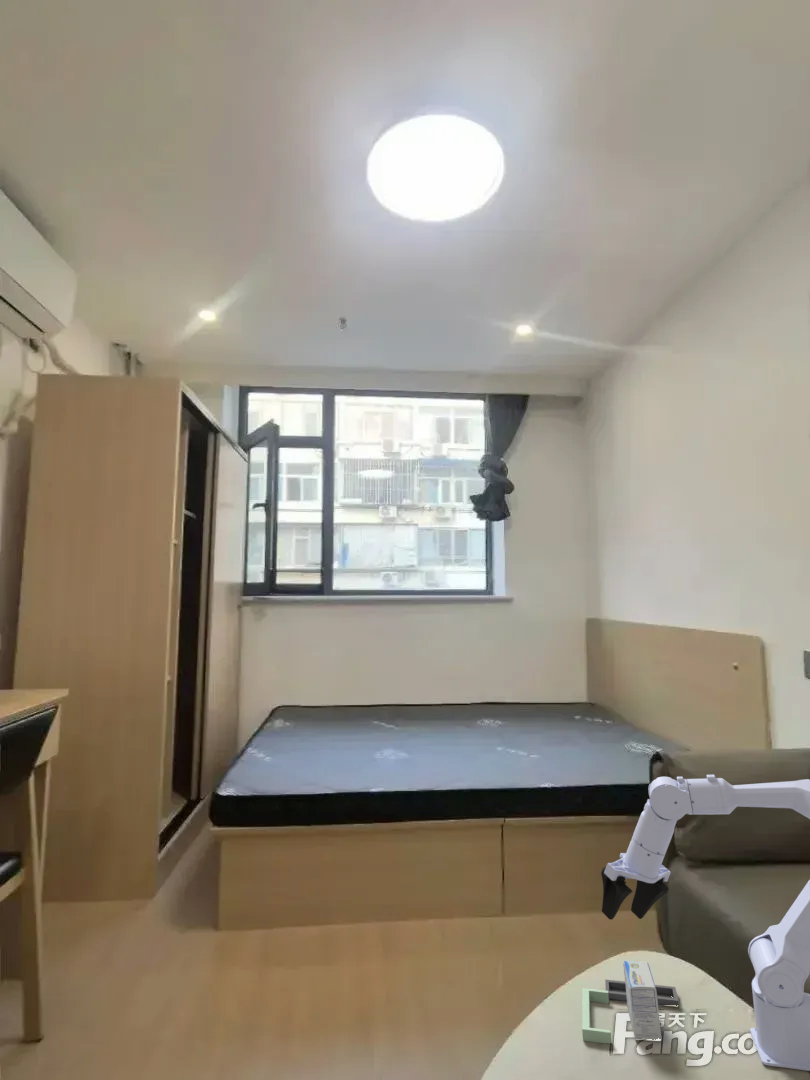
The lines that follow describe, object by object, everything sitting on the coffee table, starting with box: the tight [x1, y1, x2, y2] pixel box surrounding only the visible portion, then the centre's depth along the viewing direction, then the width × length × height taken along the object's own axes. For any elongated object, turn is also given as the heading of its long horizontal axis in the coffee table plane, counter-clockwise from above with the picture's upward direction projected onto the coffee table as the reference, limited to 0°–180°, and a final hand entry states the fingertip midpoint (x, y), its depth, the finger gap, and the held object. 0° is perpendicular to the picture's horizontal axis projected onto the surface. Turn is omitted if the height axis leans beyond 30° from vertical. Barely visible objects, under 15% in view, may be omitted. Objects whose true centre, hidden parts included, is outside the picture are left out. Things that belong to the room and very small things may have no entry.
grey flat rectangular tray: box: [655, 984, 680, 1006], centre depth 114 cm, size 5×4×1 cm
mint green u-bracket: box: [581, 987, 612, 1045], centre depth 109 cm, size 5×11×2 cm, turn 164°
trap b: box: [604, 979, 627, 1003], centre depth 116 cm, size 5×4×1 cm
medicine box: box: [623, 960, 663, 1040], centre depth 107 cm, size 8×4×9 cm, turn 168°
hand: (621, 915), depth 109 cm, fingers open, 7 cm apart
